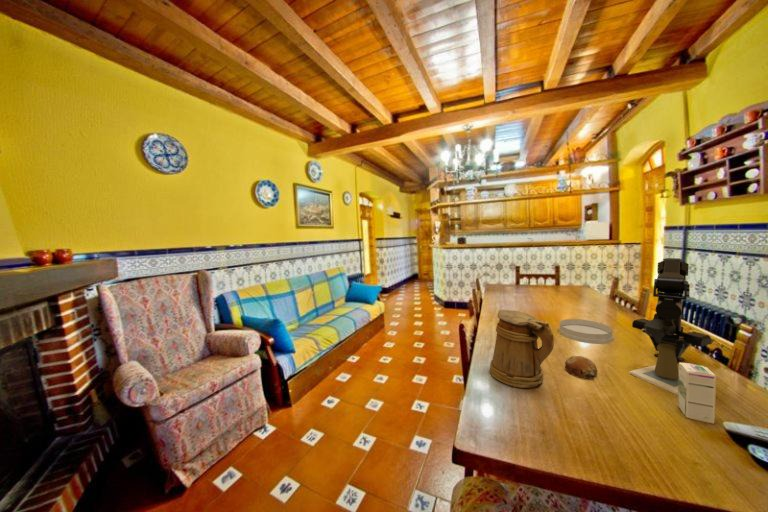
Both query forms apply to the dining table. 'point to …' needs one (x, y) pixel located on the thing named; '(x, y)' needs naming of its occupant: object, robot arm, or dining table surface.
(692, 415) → the syrup box
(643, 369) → the plate
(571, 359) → the bread roll
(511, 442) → the dining table surface
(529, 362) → the tankard
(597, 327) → the dish
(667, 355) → the cork
